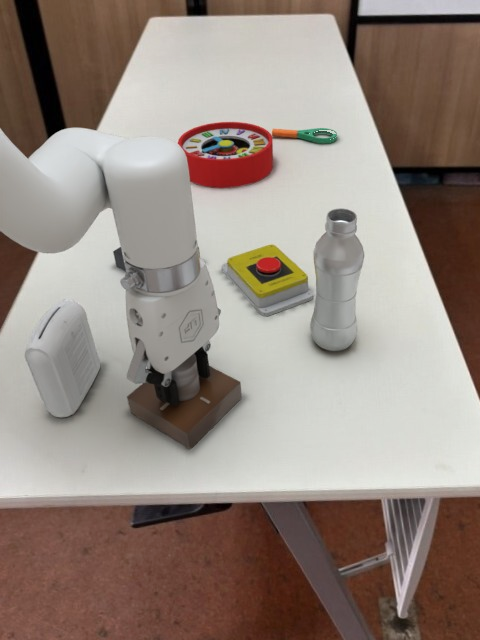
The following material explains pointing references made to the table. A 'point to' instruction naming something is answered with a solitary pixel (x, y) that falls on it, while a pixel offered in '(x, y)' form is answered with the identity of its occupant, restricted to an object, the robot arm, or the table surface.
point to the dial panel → (187, 407)
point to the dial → (187, 379)
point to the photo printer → (62, 357)
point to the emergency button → (268, 279)
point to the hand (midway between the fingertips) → (184, 385)
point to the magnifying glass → (306, 134)
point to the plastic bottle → (337, 281)
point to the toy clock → (227, 154)
